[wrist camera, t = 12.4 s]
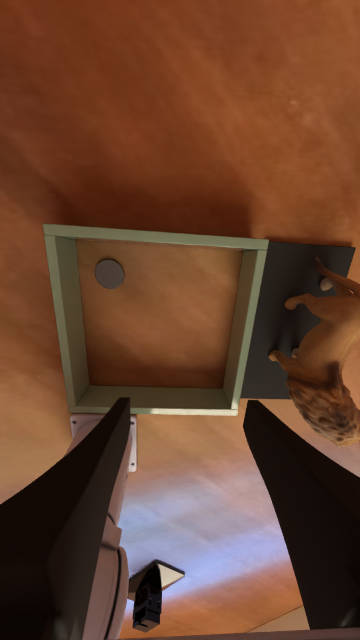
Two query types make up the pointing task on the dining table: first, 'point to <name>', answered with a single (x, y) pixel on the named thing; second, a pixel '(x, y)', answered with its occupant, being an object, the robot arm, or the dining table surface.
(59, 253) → the green square tray
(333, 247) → the mat
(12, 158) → the dining table surface
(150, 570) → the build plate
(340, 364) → the lion figurine
